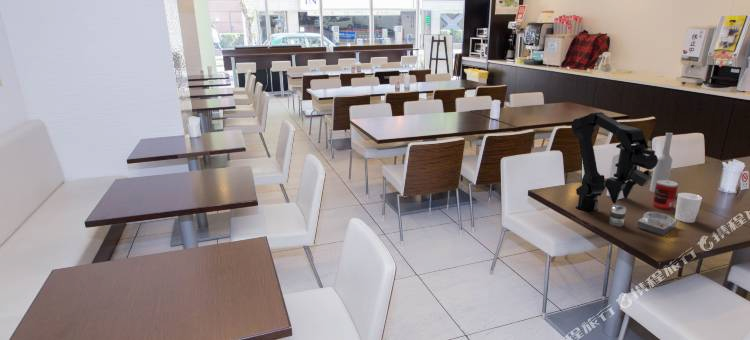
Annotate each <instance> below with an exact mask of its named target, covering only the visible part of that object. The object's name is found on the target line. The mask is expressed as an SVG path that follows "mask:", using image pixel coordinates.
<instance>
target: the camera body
mask: <svg viewBox="0 0 750 340" xmlns="http://www.w3.org/2000/svg"><path fill="white" fill-rule="evenodd" d="M677 222H678V220H677V219H676V218H673V217H672V216H671V215H669V214H667V213H662V212H658V211H647V212H645V213H643V216H642V217H641V218H639V219H638V220H637V226H636V228H638V229H641V230H643V231H644V230H645V231H648V232H650V233H653V234H658V235H661V236H664V235H666V234H667V233H670V231H672V230H673V229H675V228H676V226H677Z"/></svg>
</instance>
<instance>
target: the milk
mask: <svg viewBox="0 0 750 340" xmlns="http://www.w3.org/2000/svg"><path fill="white" fill-rule="evenodd" d="M619 154H620V152H618V154H615V155H612V159H611V164H610V171H609V175H608V179H609V178H611V177H613V176H614V174H615V173H616V171H617V167H616V166H615V165H616V164H617V163H618V160H619ZM613 178H617V177H613ZM606 196H607V197H610V194H609V192H608V189H607V188H606ZM622 199H625V198H624V196H623V190H622V191H620V194H619V197H618V200H622Z"/></svg>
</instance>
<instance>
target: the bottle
mask: <svg viewBox="0 0 750 340" xmlns="http://www.w3.org/2000/svg"><path fill="white" fill-rule="evenodd" d="M673 135H674V133H673V132H665V138H664V143H663V147H662V151H661V153H660V154H659V155H657V159H658V162H657V165H656V166H655V167H654V168H653V172H652V175H651V176H652V177H651V181H650V185H649V186H650V187H649V192H651V193H653V194H654V193H655V188H656V183H657V181H658V180H670V174H671V170H672V165H673V158H672V157H671V155H670V151H671V144H672V140H673Z"/></svg>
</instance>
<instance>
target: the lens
mask: <svg viewBox="0 0 750 340" xmlns="http://www.w3.org/2000/svg"><path fill="white" fill-rule="evenodd" d="M610 208H611V209H610V212H609V220H608V224H609V225H610V226H613V227H619V228H620V227H621V228H622V227H623V226H624V224H625V223H624V222H625V218H626V215H627V214H626V213H627V212H626V211H627V207H626V206H625V205H624V206H623V205H620V204H613V205H611V207H610Z"/></svg>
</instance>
